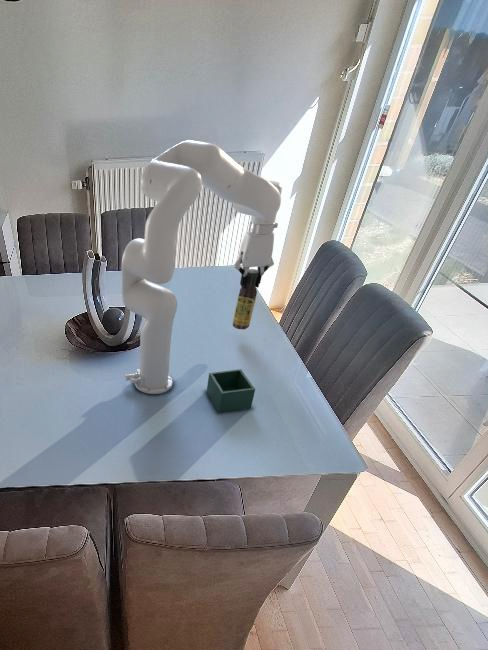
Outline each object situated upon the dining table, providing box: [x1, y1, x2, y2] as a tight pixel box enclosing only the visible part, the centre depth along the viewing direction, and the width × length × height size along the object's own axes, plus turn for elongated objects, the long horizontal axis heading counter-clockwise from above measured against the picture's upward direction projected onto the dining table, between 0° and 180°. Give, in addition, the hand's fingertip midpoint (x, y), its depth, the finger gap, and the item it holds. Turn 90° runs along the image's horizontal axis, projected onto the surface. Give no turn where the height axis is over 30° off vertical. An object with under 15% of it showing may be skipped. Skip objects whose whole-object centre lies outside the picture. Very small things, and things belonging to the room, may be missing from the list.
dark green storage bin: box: [206, 368, 256, 413], centre depth 143 cm, size 11×12×7 cm
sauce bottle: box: [232, 268, 259, 330], centre depth 163 cm, size 7×6×20 cm
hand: (249, 286), depth 159 cm, fingers closed on sauce bottle, 4 cm apart
